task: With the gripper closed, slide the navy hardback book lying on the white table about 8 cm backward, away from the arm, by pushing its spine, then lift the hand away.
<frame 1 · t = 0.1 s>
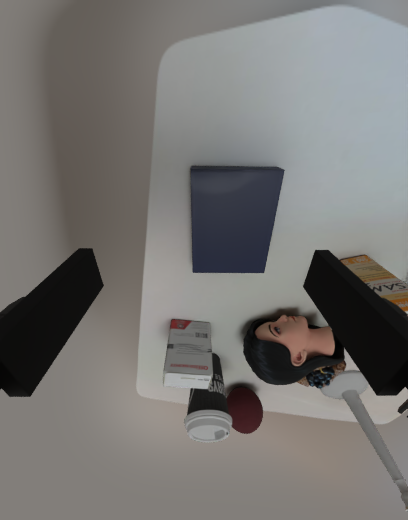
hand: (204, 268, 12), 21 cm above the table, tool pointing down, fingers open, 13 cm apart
book: (230, 221, 33), on the table
coffee cup: (206, 359, 52), on the table
candlestick: (343, 382, 58), on the table
supplement box: (339, 268, 38), on the table
pastry: (312, 359, 52), on the table
decorative ball: (240, 388, 59), on the table
head: (284, 324, 45), on the table
ink box: (190, 327, 46), on the table
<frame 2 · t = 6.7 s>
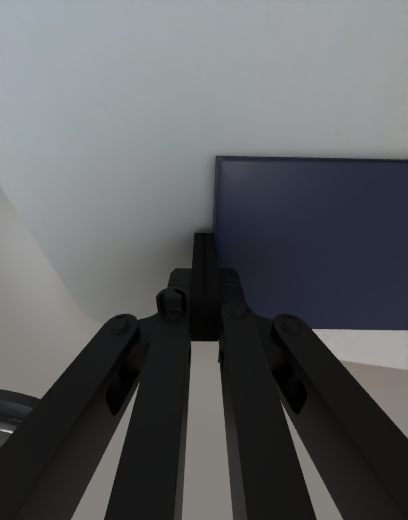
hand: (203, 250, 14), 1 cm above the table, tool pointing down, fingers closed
book: (315, 244, 16), on the table, touching gripper
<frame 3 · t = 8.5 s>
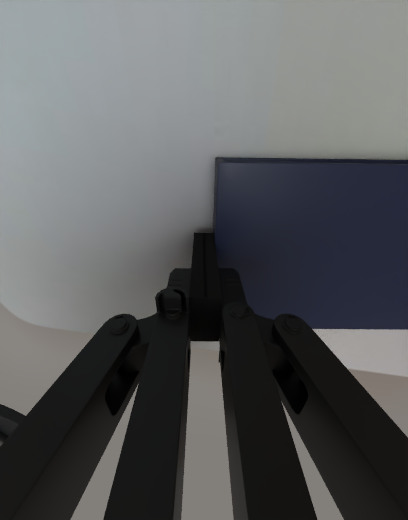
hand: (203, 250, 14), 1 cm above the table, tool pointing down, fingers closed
book: (315, 244, 16), on the table, touching gripper
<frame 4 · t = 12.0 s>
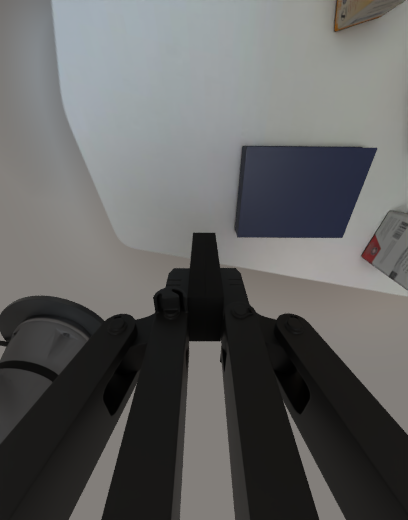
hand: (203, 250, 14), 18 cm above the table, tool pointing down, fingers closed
book: (291, 192, 30), on the table
ink box: (385, 235, 34), on the table
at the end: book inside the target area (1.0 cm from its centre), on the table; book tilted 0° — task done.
